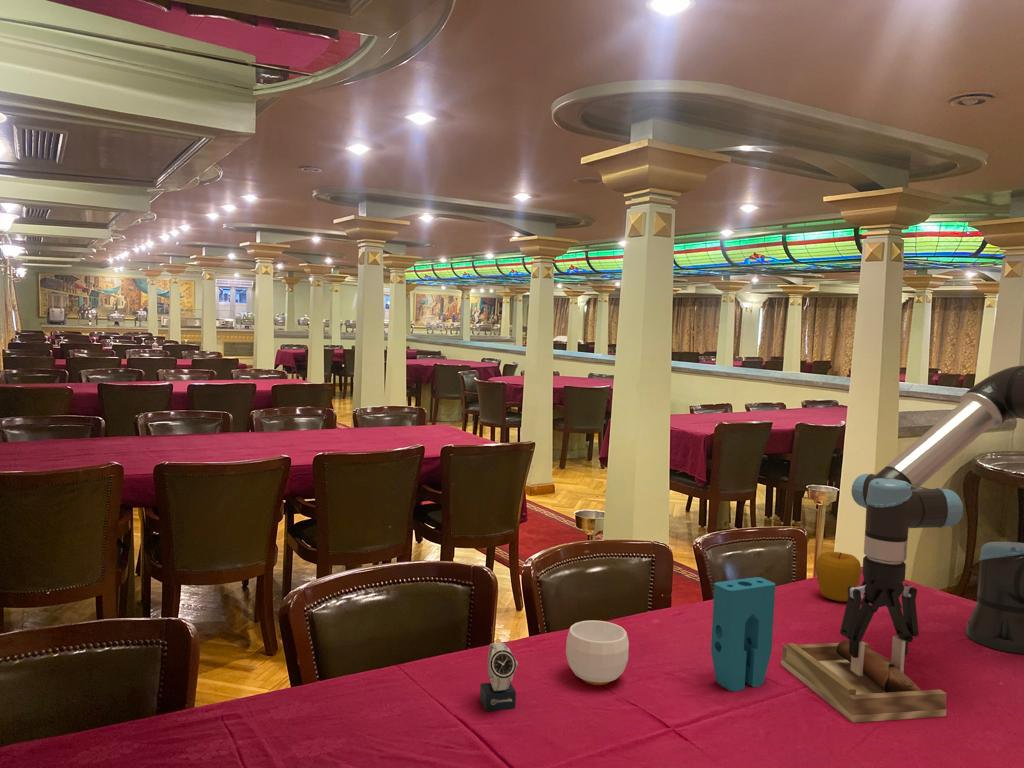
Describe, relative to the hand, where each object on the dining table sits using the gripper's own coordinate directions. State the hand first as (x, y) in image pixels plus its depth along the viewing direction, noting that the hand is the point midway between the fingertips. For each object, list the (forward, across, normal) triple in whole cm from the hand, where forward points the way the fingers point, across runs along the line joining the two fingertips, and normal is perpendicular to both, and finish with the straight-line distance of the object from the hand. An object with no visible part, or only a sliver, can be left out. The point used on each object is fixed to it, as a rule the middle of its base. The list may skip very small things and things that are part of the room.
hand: (876, 671), depth 148 cm
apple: (+3, -24, -48) cm, 54 cm away
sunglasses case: (+1, 0, 0) cm, 1 cm away
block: (+3, +26, -5) cm, 27 cm away
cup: (+4, +54, -10) cm, 55 cm away
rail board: (+3, +4, 0) cm, 5 cm away
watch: (+4, +75, -2) cm, 76 cm away
